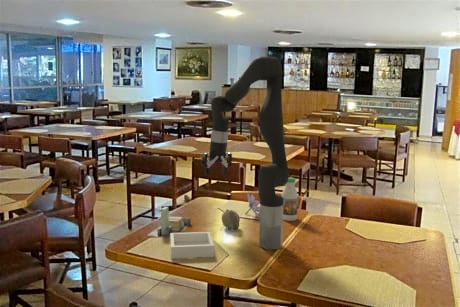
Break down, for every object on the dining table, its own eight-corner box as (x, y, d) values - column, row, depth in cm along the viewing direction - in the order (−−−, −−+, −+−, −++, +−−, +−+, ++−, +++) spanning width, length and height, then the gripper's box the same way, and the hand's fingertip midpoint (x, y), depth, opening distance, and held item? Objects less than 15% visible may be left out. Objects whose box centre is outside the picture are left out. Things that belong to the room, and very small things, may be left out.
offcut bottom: (167, 224, 213) (167, 220, 213) (183, 226, 211) (183, 222, 211) (161, 228, 208) (161, 224, 207) (178, 230, 206) (178, 226, 205)
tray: (214, 257, 179) (214, 245, 178) (171, 258, 177) (171, 247, 176) (209, 242, 194) (209, 231, 194) (170, 243, 192) (170, 233, 191)
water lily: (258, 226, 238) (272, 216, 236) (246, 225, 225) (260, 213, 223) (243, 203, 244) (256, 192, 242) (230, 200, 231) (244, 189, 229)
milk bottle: (277, 217, 230) (279, 177, 227) (291, 215, 234) (292, 175, 230) (286, 222, 223) (287, 180, 220) (300, 220, 227) (301, 179, 223)
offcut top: (166, 220, 213) (166, 216, 212) (182, 222, 211) (182, 217, 211) (162, 224, 207) (162, 220, 207) (178, 225, 206) (178, 221, 205)
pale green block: (165, 231, 204) (165, 206, 202) (168, 231, 204) (168, 207, 202) (161, 234, 200) (161, 209, 199) (164, 234, 200) (164, 209, 198)
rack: (166, 223, 218) (166, 215, 217) (191, 226, 215) (191, 218, 214) (146, 237, 199) (146, 228, 198) (173, 240, 196) (173, 231, 195)
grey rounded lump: (237, 236, 210) (241, 218, 205) (218, 232, 210) (222, 214, 205) (239, 223, 218) (242, 206, 213) (220, 220, 218) (224, 202, 213)
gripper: (209, 142, 206) (205, 178, 209) (237, 142, 213) (232, 176, 217) (201, 138, 212) (197, 173, 216) (228, 138, 220) (224, 172, 223)
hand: (215, 175), depth 216 cm, fingers open, 8 cm apart
